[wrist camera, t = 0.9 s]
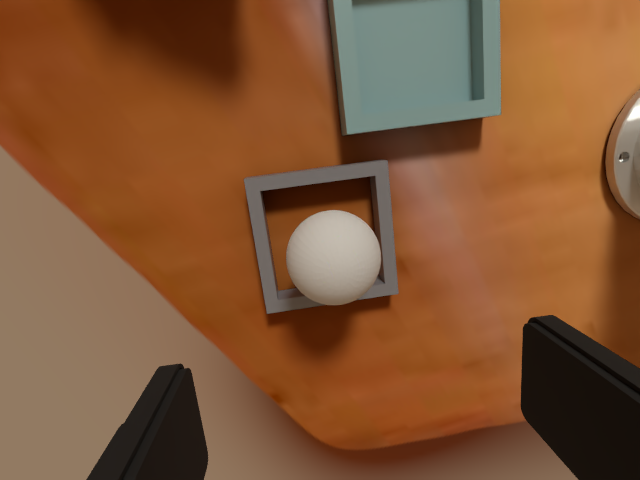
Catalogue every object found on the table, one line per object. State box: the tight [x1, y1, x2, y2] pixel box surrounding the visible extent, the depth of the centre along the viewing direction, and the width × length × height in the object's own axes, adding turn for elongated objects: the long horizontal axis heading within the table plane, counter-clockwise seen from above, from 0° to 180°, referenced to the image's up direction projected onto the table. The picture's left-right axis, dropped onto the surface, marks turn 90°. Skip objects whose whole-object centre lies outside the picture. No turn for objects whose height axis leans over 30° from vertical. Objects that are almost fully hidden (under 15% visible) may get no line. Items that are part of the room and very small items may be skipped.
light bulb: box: [286, 210, 381, 305], centre depth 25 cm, size 6×6×10 cm
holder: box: [244, 160, 398, 314], centre depth 29 cm, size 10×10×2 cm
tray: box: [327, 0, 501, 136], centre depth 26 cm, size 11×11×2 cm
